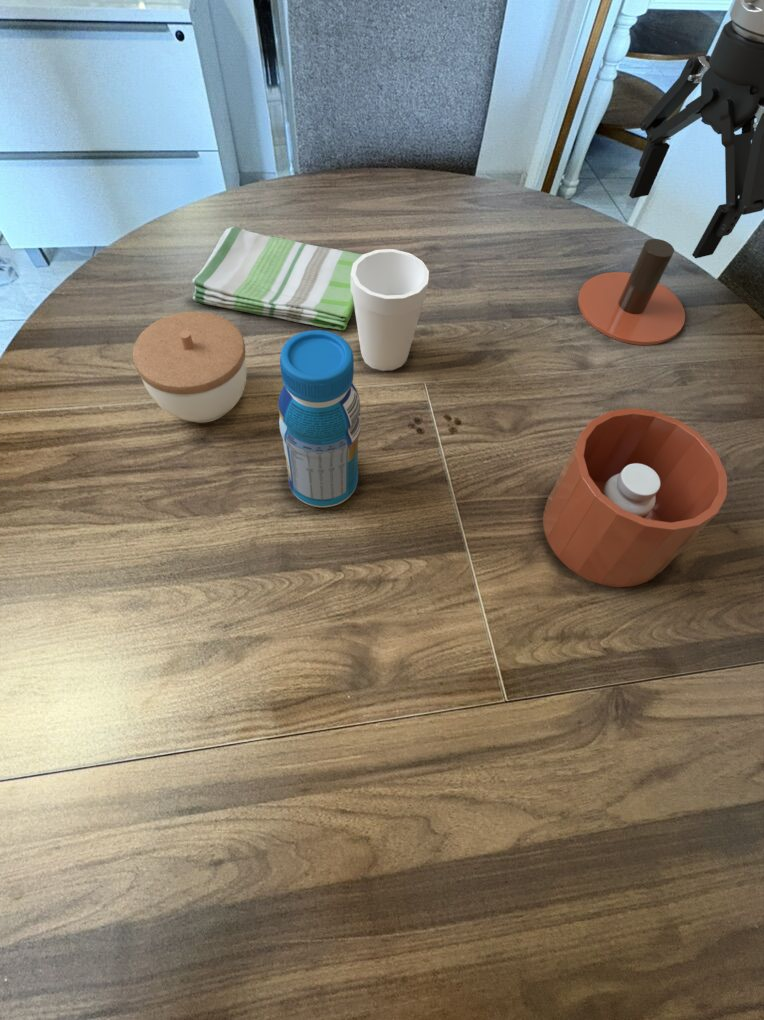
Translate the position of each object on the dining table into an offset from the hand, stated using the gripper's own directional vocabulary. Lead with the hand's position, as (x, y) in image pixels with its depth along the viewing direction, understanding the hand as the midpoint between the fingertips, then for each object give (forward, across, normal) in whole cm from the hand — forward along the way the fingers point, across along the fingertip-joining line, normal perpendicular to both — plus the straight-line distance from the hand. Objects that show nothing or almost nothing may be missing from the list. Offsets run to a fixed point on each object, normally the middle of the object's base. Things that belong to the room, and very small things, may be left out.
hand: (669, 224), depth 80 cm
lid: (+14, 0, 0) cm, 14 cm away
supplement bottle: (+14, +31, -25) cm, 42 cm away
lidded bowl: (+15, -4, -63) cm, 65 cm away
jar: (+14, +31, -25) cm, 42 cm away
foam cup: (+14, -4, -38) cm, 41 cm away
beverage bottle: (+14, +13, -53) cm, 56 cm away
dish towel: (+15, -23, -46) cm, 53 cm away
